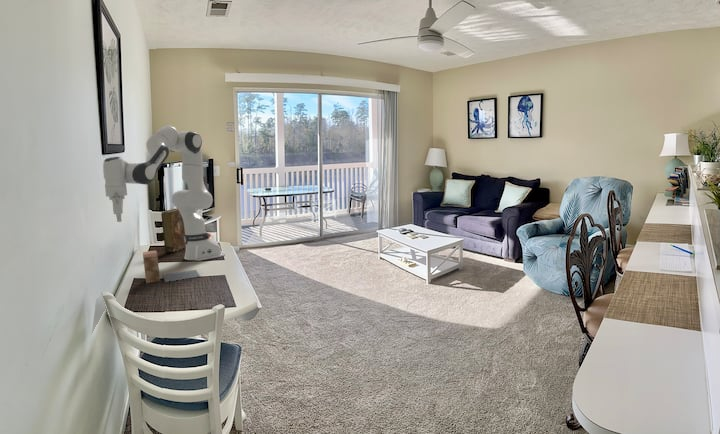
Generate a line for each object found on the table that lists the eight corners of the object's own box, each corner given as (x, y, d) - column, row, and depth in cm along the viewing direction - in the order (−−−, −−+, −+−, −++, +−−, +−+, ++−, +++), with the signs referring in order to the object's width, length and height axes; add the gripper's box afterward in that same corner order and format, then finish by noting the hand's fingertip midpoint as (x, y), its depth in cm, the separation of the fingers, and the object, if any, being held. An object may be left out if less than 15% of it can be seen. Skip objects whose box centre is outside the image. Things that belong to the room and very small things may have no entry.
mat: (196, 270, 241) (195, 269, 241) (200, 276, 229) (200, 276, 229) (162, 275, 234) (162, 274, 234) (165, 282, 222) (165, 281, 222)
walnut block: (159, 278, 230) (156, 250, 227) (160, 281, 224) (157, 252, 222) (145, 280, 227) (142, 252, 225) (146, 283, 222) (143, 254, 219)
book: (180, 246, 298) (176, 208, 294) (188, 247, 297) (184, 208, 293) (165, 253, 283) (161, 212, 278) (173, 253, 281) (169, 212, 277)
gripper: (124, 193, 209) (127, 223, 211) (123, 190, 227) (126, 218, 229) (108, 194, 206) (111, 225, 208) (109, 191, 224) (112, 219, 226)
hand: (119, 221), depth 219 cm, fingers closed
